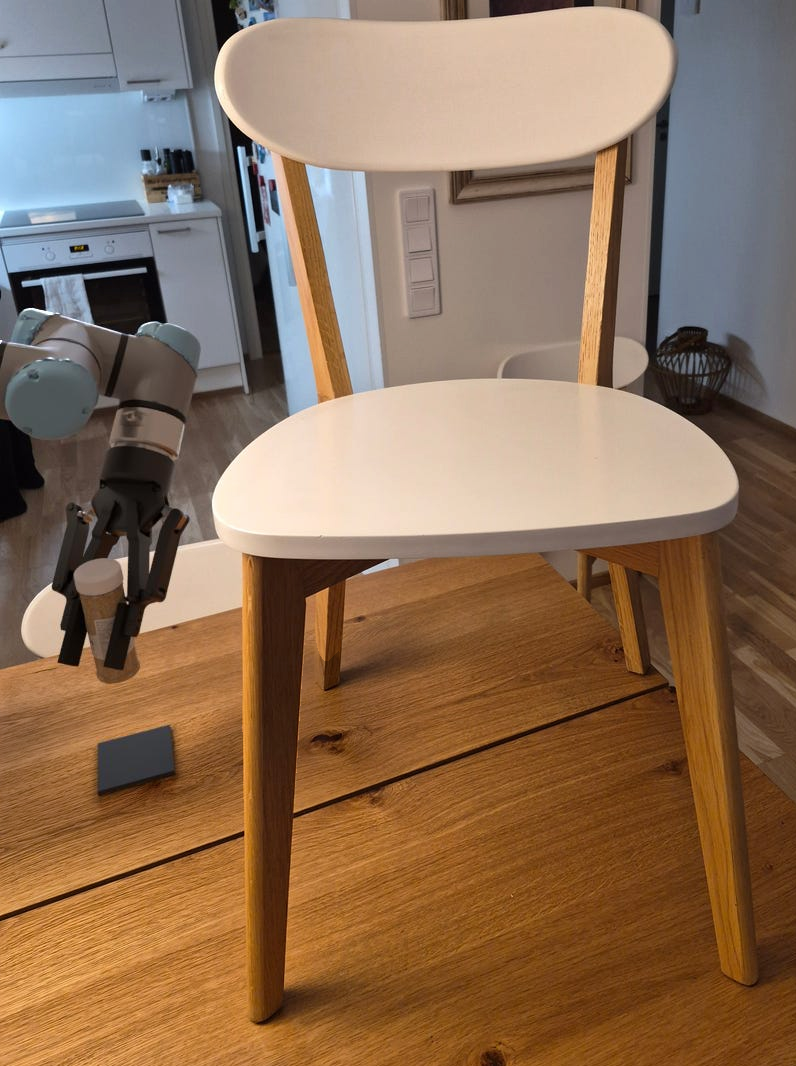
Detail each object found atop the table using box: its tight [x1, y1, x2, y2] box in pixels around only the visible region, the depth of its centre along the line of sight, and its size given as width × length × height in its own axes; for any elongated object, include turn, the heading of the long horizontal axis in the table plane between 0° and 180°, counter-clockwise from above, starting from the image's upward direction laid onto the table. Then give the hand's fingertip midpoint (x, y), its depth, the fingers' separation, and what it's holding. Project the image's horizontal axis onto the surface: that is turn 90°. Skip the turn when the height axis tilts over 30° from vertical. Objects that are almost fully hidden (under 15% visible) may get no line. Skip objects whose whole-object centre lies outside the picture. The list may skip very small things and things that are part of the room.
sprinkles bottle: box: [74, 557, 141, 685], centre depth 91 cm, size 5×5×13 cm
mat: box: [97, 724, 176, 796], centre depth 97 cm, size 8×8×1 cm
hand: (90, 666), depth 88 cm, fingers closed on sprinkles bottle, 4 cm apart
